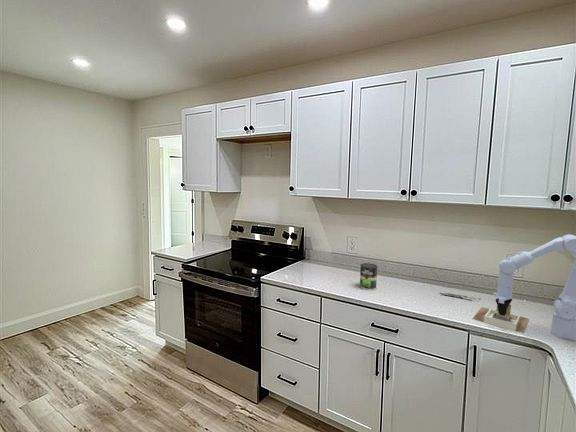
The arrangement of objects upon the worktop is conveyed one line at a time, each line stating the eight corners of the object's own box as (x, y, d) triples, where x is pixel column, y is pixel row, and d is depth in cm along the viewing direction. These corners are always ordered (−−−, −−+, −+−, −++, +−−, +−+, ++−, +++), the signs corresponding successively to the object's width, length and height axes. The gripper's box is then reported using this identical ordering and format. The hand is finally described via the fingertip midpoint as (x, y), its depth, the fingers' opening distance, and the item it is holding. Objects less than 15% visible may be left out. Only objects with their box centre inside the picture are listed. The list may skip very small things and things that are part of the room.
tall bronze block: (496, 318, 148) (498, 301, 147) (509, 321, 144) (511, 305, 143) (495, 319, 146) (497, 303, 145) (508, 323, 143) (510, 306, 142)
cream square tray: (489, 314, 154) (490, 308, 153) (519, 322, 146) (520, 316, 145) (484, 322, 145) (484, 316, 145) (515, 330, 137) (516, 324, 137)
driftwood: (438, 295, 182) (439, 292, 182) (440, 292, 188) (440, 289, 188) (479, 304, 171) (480, 300, 171) (480, 300, 176) (480, 297, 176)
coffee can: (374, 291, 187) (375, 268, 185) (357, 288, 192) (358, 266, 190) (378, 286, 196) (379, 264, 194) (361, 283, 201) (362, 262, 199)
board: (529, 320, 149) (529, 318, 149) (523, 334, 135) (524, 333, 135) (481, 308, 163) (481, 306, 163) (471, 320, 149) (472, 318, 148)
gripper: (497, 280, 151) (495, 307, 153) (491, 287, 141) (489, 316, 142) (515, 283, 146) (513, 311, 148) (510, 291, 136) (507, 320, 138)
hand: (502, 314), depth 145 cm, fingers closed on tall bronze block, 2 cm apart
